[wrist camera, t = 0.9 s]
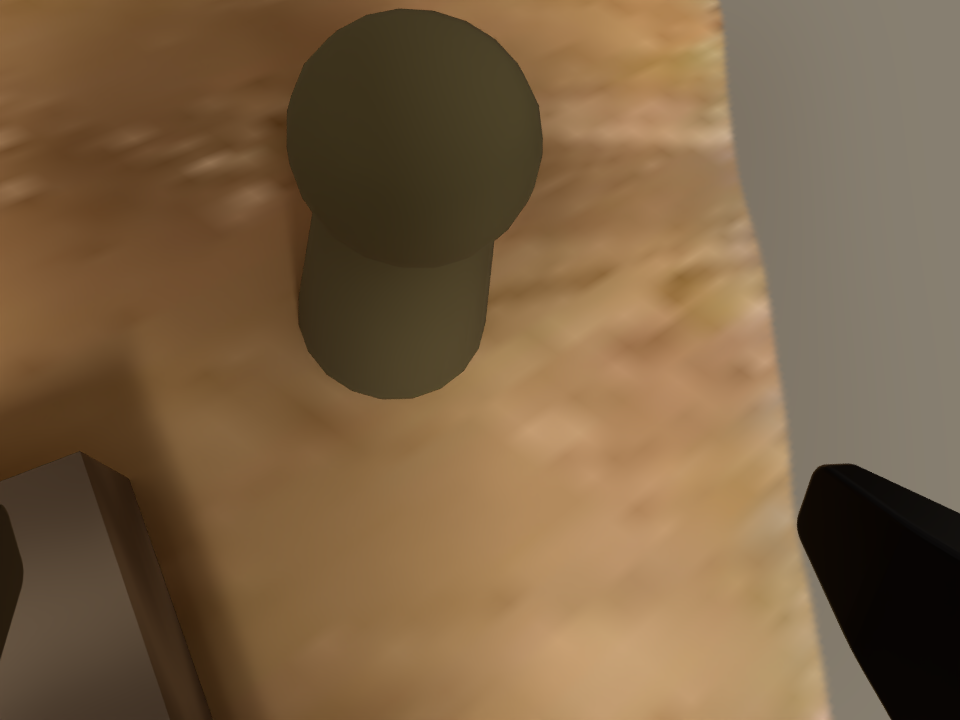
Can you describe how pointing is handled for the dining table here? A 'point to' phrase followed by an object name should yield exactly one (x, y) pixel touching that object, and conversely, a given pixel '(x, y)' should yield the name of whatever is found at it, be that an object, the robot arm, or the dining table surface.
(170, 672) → the walnut plinth
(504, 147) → the cork
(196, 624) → the dining table surface
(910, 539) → the robot arm
